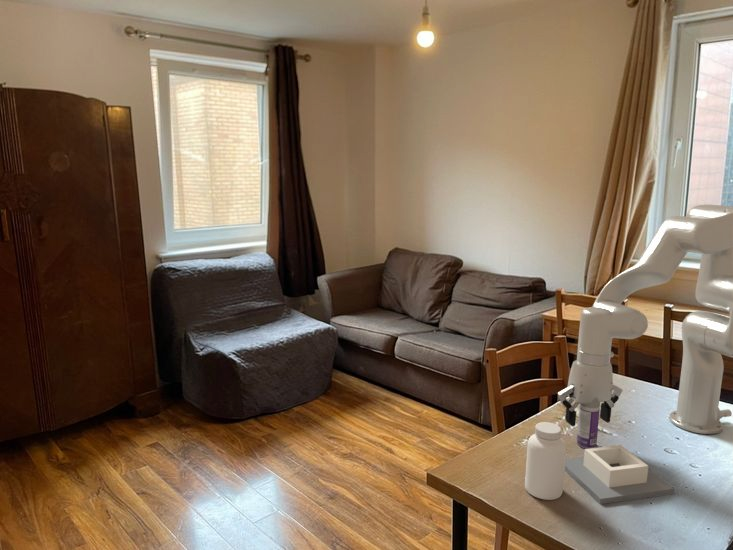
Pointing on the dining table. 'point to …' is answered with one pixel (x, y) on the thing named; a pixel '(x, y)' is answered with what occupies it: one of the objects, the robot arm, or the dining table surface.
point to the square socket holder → (615, 475)
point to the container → (588, 424)
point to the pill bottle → (545, 462)
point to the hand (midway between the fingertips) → (587, 422)
